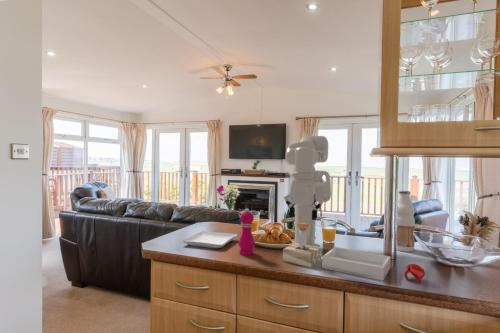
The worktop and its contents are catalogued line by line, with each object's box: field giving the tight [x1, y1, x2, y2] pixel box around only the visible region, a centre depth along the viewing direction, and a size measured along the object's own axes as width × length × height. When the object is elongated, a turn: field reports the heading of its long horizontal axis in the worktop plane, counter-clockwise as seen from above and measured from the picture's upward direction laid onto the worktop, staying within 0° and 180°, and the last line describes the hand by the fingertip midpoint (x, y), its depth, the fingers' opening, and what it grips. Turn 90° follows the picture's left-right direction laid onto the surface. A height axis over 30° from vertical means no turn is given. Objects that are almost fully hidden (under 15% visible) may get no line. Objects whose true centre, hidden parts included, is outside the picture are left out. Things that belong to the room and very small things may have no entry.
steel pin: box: [297, 223, 309, 251], centre depth 126 cm, size 5×5×15 cm
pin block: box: [282, 243, 322, 268], centre depth 126 cm, size 12×12×5 cm
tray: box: [321, 246, 392, 282], centre depth 118 cm, size 16×22×4 cm
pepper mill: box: [238, 208, 256, 256], centre depth 134 cm, size 7×7×20 cm
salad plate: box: [181, 231, 238, 249], centre depth 151 cm, size 21×21×3 cm
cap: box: [403, 263, 426, 284], centre depth 106 cm, size 8×6×6 cm
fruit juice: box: [396, 190, 416, 253], centre depth 145 cm, size 9×9×28 cm
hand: (302, 218), depth 126 cm, fingers open, 9 cm apart
